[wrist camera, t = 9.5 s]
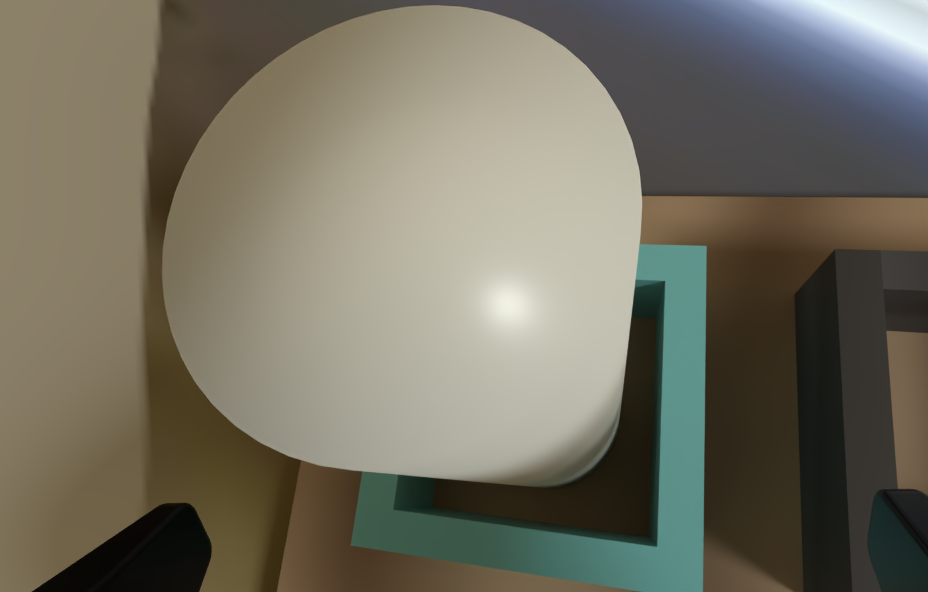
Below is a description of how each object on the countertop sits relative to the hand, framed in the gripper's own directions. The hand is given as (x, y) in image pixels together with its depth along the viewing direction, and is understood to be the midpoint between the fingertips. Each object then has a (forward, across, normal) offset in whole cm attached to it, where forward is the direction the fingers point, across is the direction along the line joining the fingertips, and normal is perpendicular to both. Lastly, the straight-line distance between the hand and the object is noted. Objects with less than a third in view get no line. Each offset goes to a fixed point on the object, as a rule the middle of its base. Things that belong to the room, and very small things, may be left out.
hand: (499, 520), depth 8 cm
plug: (+7, 0, +3) cm, 8 cm away
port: (+7, 0, +3) cm, 8 cm away
